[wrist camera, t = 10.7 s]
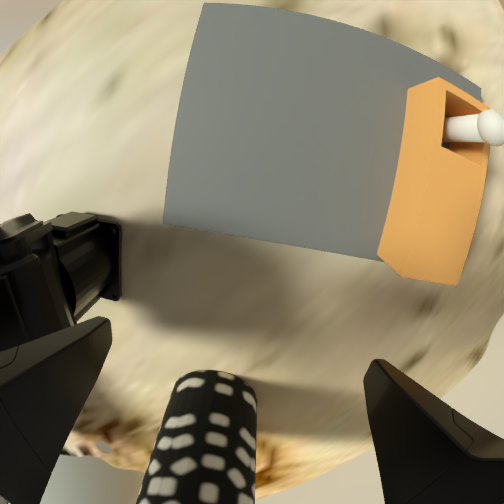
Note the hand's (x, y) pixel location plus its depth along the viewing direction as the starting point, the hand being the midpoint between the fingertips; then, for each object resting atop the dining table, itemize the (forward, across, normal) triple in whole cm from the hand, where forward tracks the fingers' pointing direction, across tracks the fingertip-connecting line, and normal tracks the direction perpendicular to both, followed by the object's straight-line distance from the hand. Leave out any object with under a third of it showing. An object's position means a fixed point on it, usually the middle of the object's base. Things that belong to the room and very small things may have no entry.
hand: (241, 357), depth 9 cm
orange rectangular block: (+10, -11, -7) cm, 17 cm away
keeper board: (+12, -5, -9) cm, 16 cm away
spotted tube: (+12, +1, +16) cm, 20 cm away
